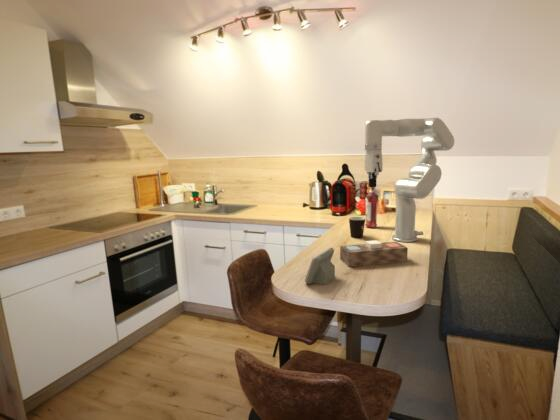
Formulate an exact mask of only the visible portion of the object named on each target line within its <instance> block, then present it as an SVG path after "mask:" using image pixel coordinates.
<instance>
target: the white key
mask: <svg viewBox="0 0 560 420" xmlns="http://www.w3.org/2000/svg"><path fill="white" fill-rule="evenodd" d="M382 243H383V242H380V241H379V240H375V239H374V240H366V241H365V244H366V245H365V246H366V247H367V248H369V249H378V248H382Z"/></svg>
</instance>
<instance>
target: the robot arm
mask: <svg viewBox="0 0 560 420" xmlns="http://www.w3.org/2000/svg"><path fill="white" fill-rule="evenodd" d="M364 127H365V128H364V130H365V131H364V134H365V135H364V137H365V138H364V151H365V156H364V157H365V158H364V171H366V174H367V175H368V177H367V179H368V188H370V187H374V188H376V187H377V179H378V176H379V174H380V173H382V172H383V153H382V145H383V142H382V141H383V137H401V138H402V137H403V138H404V137H421V136H422V139H421V141H420V149H421V154H420V156H419V158H418V159H417V161H416V162H415V163H414V164H413V165H412V167H411V168H410V169H409V172H408V174H407V175H408V177H402V178H400V179H398V180H396V182H395V183H394V196H395V226H394V227H395V228H394V234H393V235H392V236H391V239H392V240H393V241H395V242H399V243H400V242H401V243H413V242H417V241H418V239H419V238H418V236H423V235H424V231H419V230H415V229H416V209H417V207H416V205H417V204H416V202H415V199H416V200H417V199H419V200H423V199H425V198H427V197H428V196H429V195H430V194H431V193H432V192H433V190H434V189H435V187H436V186H437V185H438V184H439V182H440V180H441V178H442V174H443V173H442V169H441V167H440V166H439V165H438V164H437V157H436V153H435V151H436V152H437V151H439V152H441V151H449V150H452V149H453V147H454V145H455V138H454V135H453V132H451V130H450V129H449V128H448V126H447V124H446V123H445V122H444V120H443V119H441V118H439V117H428V118H402V119H382V120H380V119H379V120H378V119H371V120H366V121H365V126H364Z"/></svg>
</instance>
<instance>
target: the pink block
mask: <svg viewBox="0 0 560 420" xmlns="http://www.w3.org/2000/svg"><path fill="white" fill-rule="evenodd" d="M385 245H386V246H388V247H390V248H392V247H401V246H400V245H398V244H396V243H391V244H385Z"/></svg>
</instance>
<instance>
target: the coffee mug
mask: <svg viewBox="0 0 560 420" xmlns="http://www.w3.org/2000/svg"><path fill="white" fill-rule="evenodd" d="M348 223H349V233H350V238H354V239H361V238H364V233H365V232H364V231H365V226H366V225H365V224H366V217H362V216H351V217H348Z"/></svg>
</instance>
